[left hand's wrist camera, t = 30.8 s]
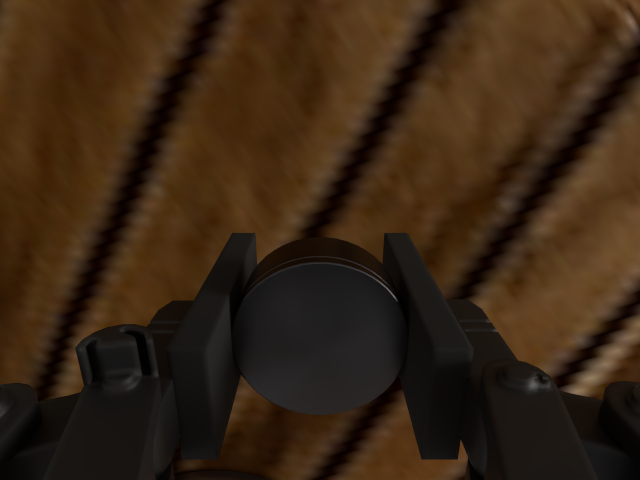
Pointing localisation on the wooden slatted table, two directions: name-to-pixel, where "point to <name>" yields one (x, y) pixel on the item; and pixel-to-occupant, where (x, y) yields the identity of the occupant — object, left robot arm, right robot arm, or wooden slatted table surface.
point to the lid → (320, 327)
